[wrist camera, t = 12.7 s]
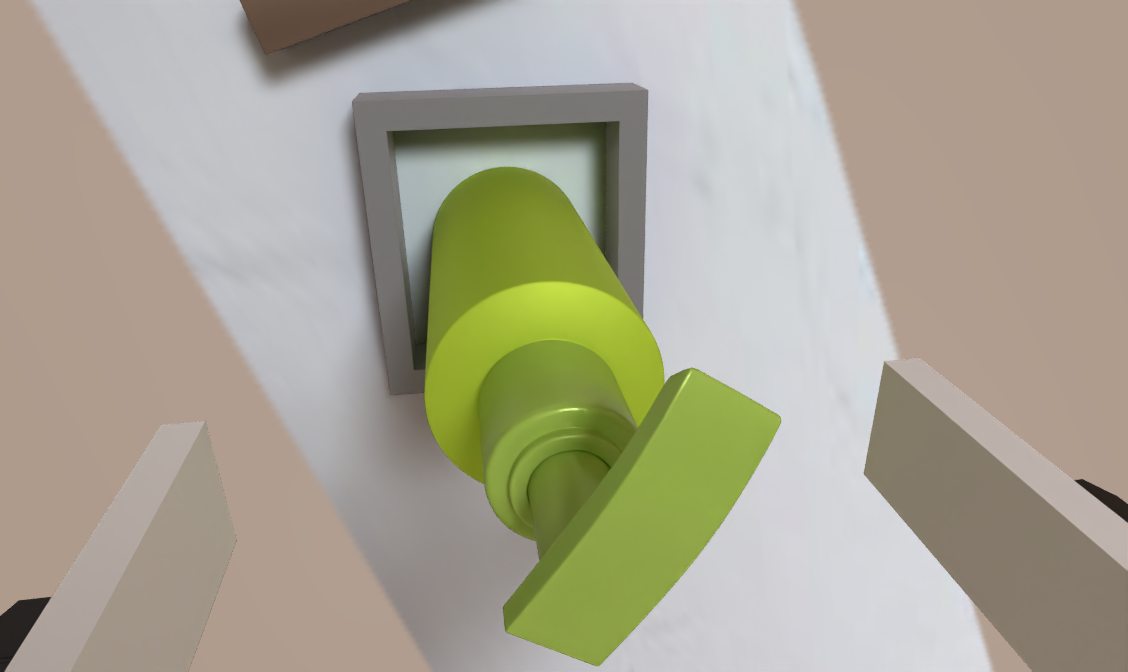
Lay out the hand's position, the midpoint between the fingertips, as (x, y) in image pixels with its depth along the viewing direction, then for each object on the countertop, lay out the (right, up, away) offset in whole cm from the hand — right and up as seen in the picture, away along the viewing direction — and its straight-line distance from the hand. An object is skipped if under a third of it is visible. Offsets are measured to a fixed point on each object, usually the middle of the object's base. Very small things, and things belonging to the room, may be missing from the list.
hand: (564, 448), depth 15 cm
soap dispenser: (-2, +7, +15) cm, 17 cm away
